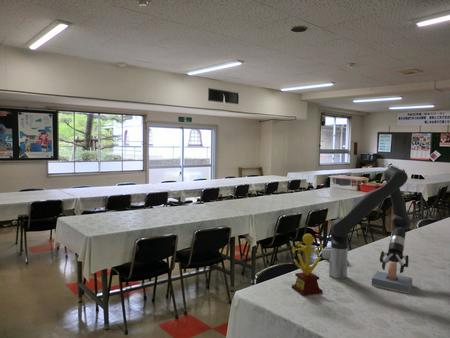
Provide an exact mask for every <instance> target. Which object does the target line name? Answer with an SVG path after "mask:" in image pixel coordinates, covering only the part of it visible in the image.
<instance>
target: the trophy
mask: <svg viewBox="0 0 450 338" xmlns="http://www.w3.org/2000/svg"><path fill="white" fill-rule="evenodd" d="M314 239H315V238H314V236H313V235H312V234H311V233H305V234H304V235H303V236H302V242H303V244H304V245H303V244H301V242H300V241H297V243H296V244H297V245H296V246H297V248H296V247H295V246H292V247H291V250H292V253H294V254H295V253H296V251H302V252H303V253H304V255H305V263H304V260H303V258H302V255H301V253H299V254H297V257H298V258H299V261H300V263H298V261H297V259H293V262H294V263H295V264H296V265H297V266H298V268H299V269H300V270H301V271H302V272H297V273H294V274H295V275H294V276H295V277H296V280H295V284H292V285H291V288H292V289H293V290H294V291H295V292H297V293H298V294H300V295H301V296H303V297H307V296H313V295H320V294H323V289H322V288H320V287H319V283H318V280H320V276H318V275H316V274H315V273H314V272H313V270H315V269H316V267H317V265H318V264H319V262H320V260H321V259H322V256H320V251H322V250H323V249H324V248H323V247H324V244H322V243H321V244H319V246H311V245H312V244H313V243H314V241H315V240H314ZM311 253H315V256H317V259H316V260H315V262H314V263H313V264H312V265H311V266H310V255H311ZM318 256H319V257H318ZM300 264H301V265H300Z"/></svg>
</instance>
